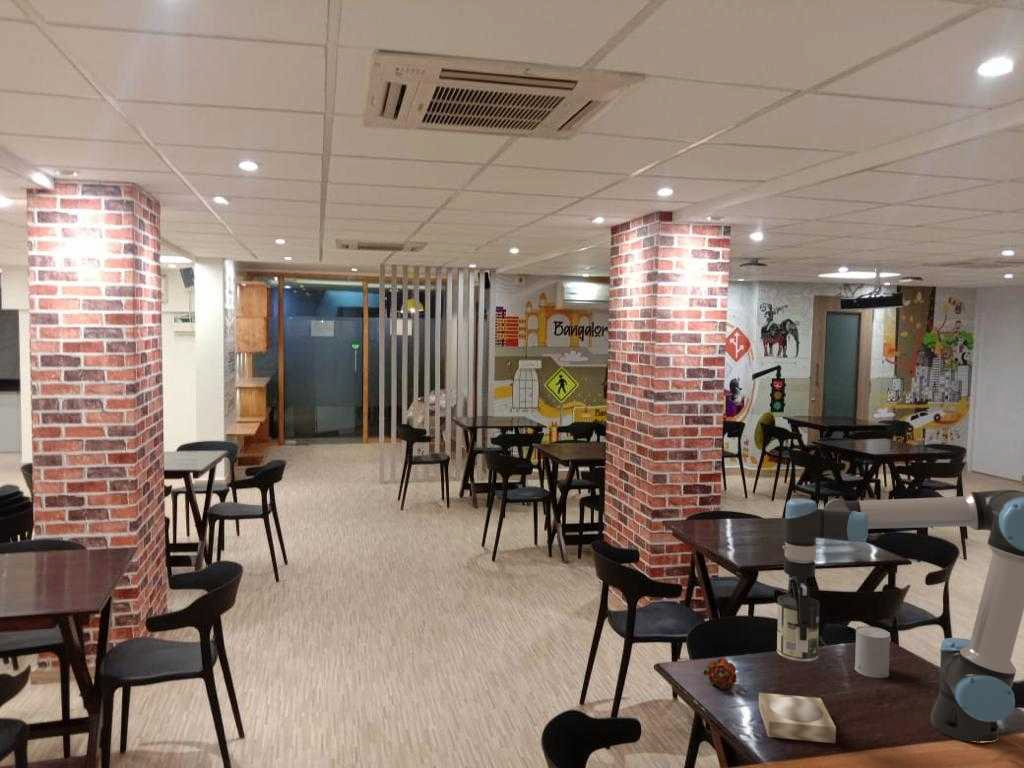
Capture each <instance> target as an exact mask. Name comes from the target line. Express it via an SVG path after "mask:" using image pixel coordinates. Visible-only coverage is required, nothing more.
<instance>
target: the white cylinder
mask: <svg viewBox="0 0 1024 768" xmlns="http://www.w3.org/2000/svg"><path fill="white" fill-rule="evenodd" d="M890 641H891V633H890V632H889V631H888V630H885V629H884V628H880V627H876V626H869V625H862V626H858V627H855V657H854V670H855V672H857V673H858V674H860V675H862V676H866V677H868V678H874V679H875V678H876V679H883V678H884V679H885V678H887V677H889V676H890V672H889V671H890V646H891V642H890Z"/></svg>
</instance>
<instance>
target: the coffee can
mask: <svg viewBox="0 0 1024 768" xmlns="http://www.w3.org/2000/svg"><path fill="white" fill-rule="evenodd" d="M820 607H821V603H820V601H819V600H817V599H815V598H814V597H810V620H811V628H808V653H807V652H796V630H797V627H795V624H798V620H797V611H798V610H799V606H797V605H796V600H795V599H794V597H791V595H788V594H782V595H780V596H778V597H777V631H776V634H777V637H776V639H777V640H776V646H777V647H776V652H777V654H778V655H779V656H781V657H783V658H785V659H788V660H790V661H791V660H792V661H795V662H796V661H797V662H814V661H816V660H817V659H818V658H819V631H820V630H819V629H820V628H819V627H820ZM804 623H806V622H804Z"/></svg>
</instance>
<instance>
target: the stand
mask: <svg viewBox="0 0 1024 768" xmlns="http://www.w3.org/2000/svg"><path fill="white" fill-rule="evenodd" d="M758 710H759V712H760V713H759V714H760V715H761V718H762V721H763V725H764V727H765V730H766V733H767V736H768V737H769V738H775V739H776V738H779V739H786V740H787V739H789V740H797V741H807V742H819V743H830V744H836V742H837V741H836V740H837V739H836V738H837V737H836V734H837V727H836V725H835V722H833V719H832V718H831V715H830V714H829V712H828V710H827V708H826V706H825V704H824V702H823V700H822V698H821V697H812V696H811V697H810V696H801V695H789V694H779V693H778V694H777V693H767V692H766V693H764V692H758Z"/></svg>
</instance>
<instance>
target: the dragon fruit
mask: <svg viewBox="0 0 1024 768" xmlns="http://www.w3.org/2000/svg"><path fill="white" fill-rule="evenodd" d="M705 668H707V669H703V670H702V674H703V675H704V676H707V677H708V681H709V682H710V683H711V684H712V685H713V686H716V687H718V688H720V689H722V690H726V689H729V688H731V687H732V686H733V685H735V683H737V682H738V678H737V673H736V672H737V671H736V670H737V669H736V666H735V665H734V664H733V663H732V662H729V661H728V659H726V658H724V657H719V658H718V659H717V660H715V659H714V660H711V661H710V662H708V665H706V666H705Z"/></svg>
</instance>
